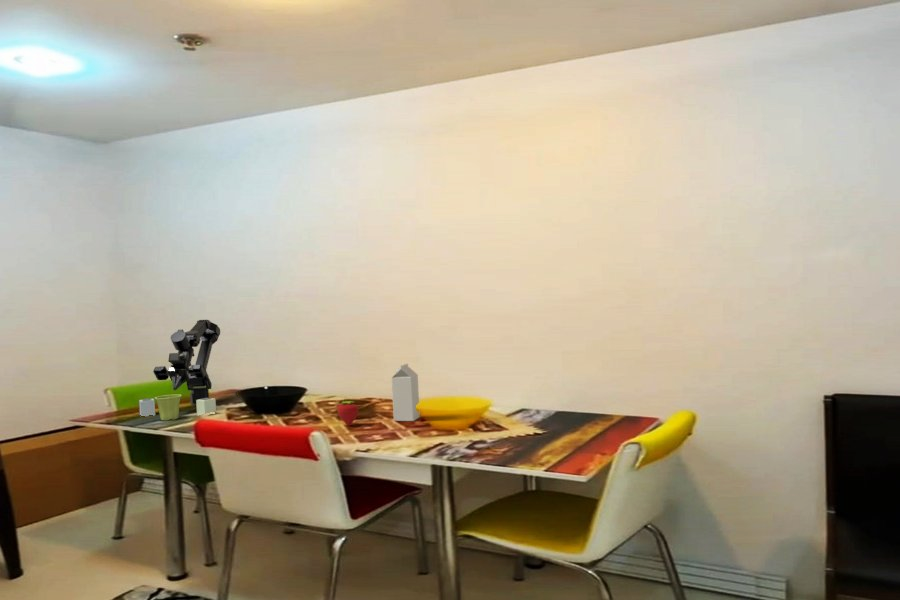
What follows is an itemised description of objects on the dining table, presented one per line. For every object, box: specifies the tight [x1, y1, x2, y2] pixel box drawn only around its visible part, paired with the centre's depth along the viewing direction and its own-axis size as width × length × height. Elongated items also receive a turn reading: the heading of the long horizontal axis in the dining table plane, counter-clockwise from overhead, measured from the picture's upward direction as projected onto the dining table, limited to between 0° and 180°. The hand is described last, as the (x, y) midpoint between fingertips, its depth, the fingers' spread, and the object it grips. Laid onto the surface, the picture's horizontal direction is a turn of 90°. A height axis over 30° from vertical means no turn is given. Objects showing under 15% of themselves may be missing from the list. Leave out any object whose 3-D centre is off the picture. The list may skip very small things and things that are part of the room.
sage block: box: [195, 397, 217, 417], centre depth 262 cm, size 5×5×6 cm
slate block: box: [138, 398, 156, 417], centre depth 267 cm, size 5×5×6 cm
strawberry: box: [337, 396, 359, 427], centre depth 228 cm, size 6×8×10 cm
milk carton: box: [391, 363, 421, 422], centre depth 234 cm, size 7×7×19 cm
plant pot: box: [154, 393, 182, 421], centre depth 256 cm, size 9×9×9 cm
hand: (174, 389), depth 262 cm, fingers closed
